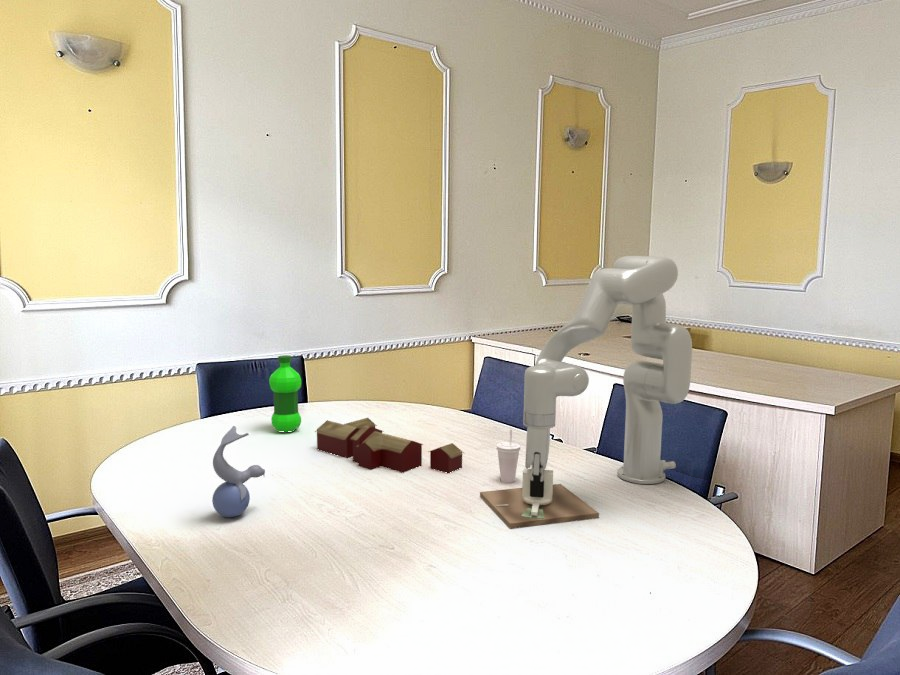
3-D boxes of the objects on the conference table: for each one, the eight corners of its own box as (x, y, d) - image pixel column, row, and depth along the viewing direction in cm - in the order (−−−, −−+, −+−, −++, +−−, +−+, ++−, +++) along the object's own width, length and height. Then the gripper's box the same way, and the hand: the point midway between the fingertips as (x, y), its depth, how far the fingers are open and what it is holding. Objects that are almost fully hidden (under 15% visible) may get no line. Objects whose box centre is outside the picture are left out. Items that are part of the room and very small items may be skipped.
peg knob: (524, 493, 170) (524, 465, 169) (552, 495, 169) (553, 467, 168) (518, 514, 157) (519, 484, 156) (549, 517, 156) (550, 487, 155)
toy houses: (310, 452, 208) (309, 419, 206) (359, 437, 224) (359, 407, 222) (424, 487, 180) (424, 449, 179) (471, 467, 196) (472, 432, 195)
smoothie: (518, 485, 181) (519, 433, 179) (494, 483, 182) (495, 431, 180) (521, 477, 187) (522, 426, 185) (497, 475, 188) (498, 425, 186)
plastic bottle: (299, 435, 224) (297, 359, 221) (266, 435, 225) (264, 358, 221) (305, 427, 234) (304, 354, 231) (274, 426, 235) (272, 353, 231)
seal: (273, 512, 161) (271, 429, 159) (221, 526, 154) (218, 438, 151) (258, 501, 168) (255, 421, 165) (207, 514, 160) (203, 430, 157)
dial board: (560, 488, 179) (560, 482, 179) (598, 517, 160) (599, 512, 160) (479, 496, 173) (480, 491, 172) (510, 528, 154) (510, 522, 154)
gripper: (526, 409, 172) (524, 480, 175) (520, 427, 156) (518, 505, 159) (557, 411, 171) (554, 482, 173) (553, 429, 154) (551, 507, 157)
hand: (537, 492), depth 166 cm, fingers open, 4 cm apart
